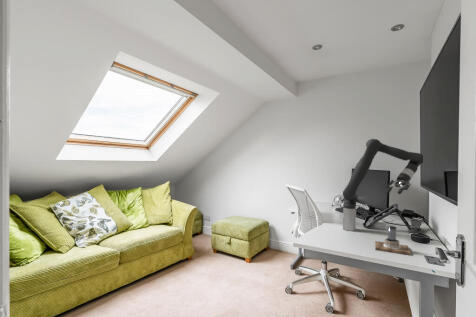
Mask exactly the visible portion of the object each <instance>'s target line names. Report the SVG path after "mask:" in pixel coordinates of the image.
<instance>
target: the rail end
mask: <svg viewBox="0 0 476 317" xmlns="http://www.w3.org/2000/svg"><path fill="white" fill-rule="evenodd" d="M386 227H387V238H388V241H392V242H396V240H397V226H395V225H387V226H386Z"/></svg>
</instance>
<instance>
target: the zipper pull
mask: <svg viewBox="0 0 476 317" xmlns="http://www.w3.org/2000/svg"><path fill="white" fill-rule="evenodd" d="M422 223H423V220H421V219H415V218H414V219H413V218H410V227H411V230H409V229H407V233H408V232H409V233H408V234H410V233H418V234H424V232H423V230H422V228H421V226H422Z"/></svg>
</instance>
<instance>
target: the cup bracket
mask: <svg viewBox="0 0 476 317" xmlns="http://www.w3.org/2000/svg"><path fill="white" fill-rule="evenodd" d="M374 244H375V246H374V248H375V249H374V250H375V251H381V252H387V253H393V254H400V255H404V256H412V253H411V249H410V248H409V245H406V244H405V245H404V244H400V240H399V239H396V242H392V241H388V237H386V238H384V242H383V241H376V240H375V242H374Z"/></svg>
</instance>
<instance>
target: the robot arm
mask: <svg viewBox="0 0 476 317" xmlns="http://www.w3.org/2000/svg"><path fill="white" fill-rule="evenodd" d="M365 146H366V148H365V151H364V153H363V155H362V156H361V158H360V159H359V161H358V162H357V163H356V165H355V167H354V169H353V170H352V174H351V176H350V179H349V182H348V184H346V187H345V188H344V190H343V191H342V197H343V204H342V207H343V209H342V210H343V211H342V214H343V215H342V230H345V231H347V232H348V231H349V232H354V231H356V230H357V191H358V188H359V186H360V184H361V183H362V181H363V180H364V179H365V178H366V176H367V174H368V172H369V170H370V167H371V166H372V163H373V161H374V159H375V156H376V155H377V154H378V152H380V153H383V154H386V155H388V156H390V157H393V158H396V159H398V160H400V161H401V160H402V161H408V162H407V165H406V166H405V167H404V168H403V170H402V171H401V172H400V173H399V174H398V176H397V177H396V180H393V179H391V181H389V183H388V184H387V187H388V188H387V189H386V192H387V193H391V191H392V190H393V189H395V188H399V189H398V190H397V192H396V193H397V194H398V195H401V194H402V193H403V191H408V189H410V187H411V182H410V181H411V180H412V178H413V177H414V175H415V174H416V173H417V171H418V168H419V167H420V165H422V164H423V155H424V154H422V153H420V152H413V151H412V152H411V151H407V150H405V149H401V148H398V147H395V146H390V145H388V144H385V143H382V142H381V141H380V140H379V139H377V138H376V139H375V138H370V139H368V140H367V141H366V143H365Z"/></svg>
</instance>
